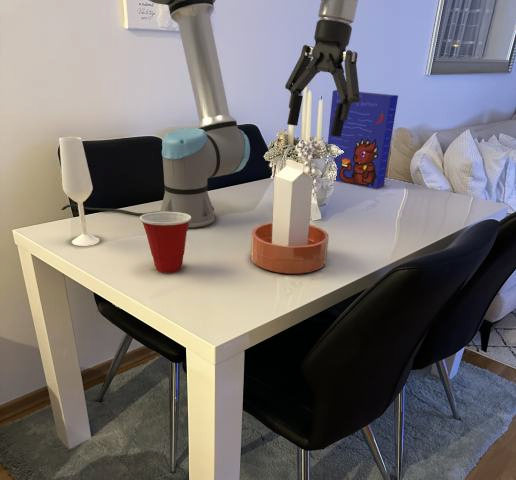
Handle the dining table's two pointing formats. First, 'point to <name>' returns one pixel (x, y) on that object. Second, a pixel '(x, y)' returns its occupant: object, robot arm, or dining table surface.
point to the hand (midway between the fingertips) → (313, 130)
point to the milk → (292, 205)
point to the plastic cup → (166, 238)
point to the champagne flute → (76, 181)
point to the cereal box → (364, 139)
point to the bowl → (289, 251)
